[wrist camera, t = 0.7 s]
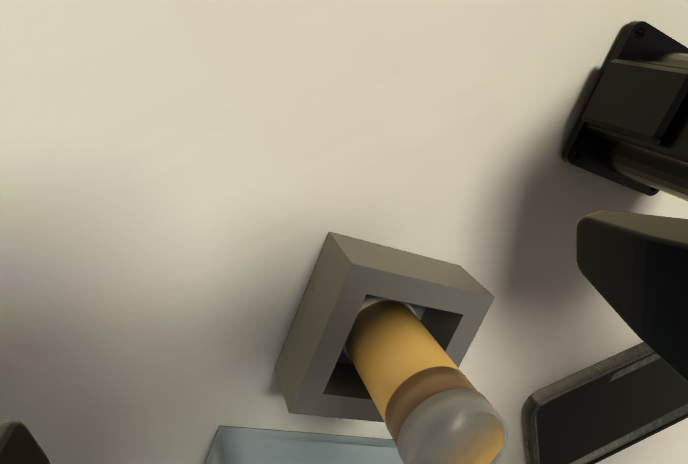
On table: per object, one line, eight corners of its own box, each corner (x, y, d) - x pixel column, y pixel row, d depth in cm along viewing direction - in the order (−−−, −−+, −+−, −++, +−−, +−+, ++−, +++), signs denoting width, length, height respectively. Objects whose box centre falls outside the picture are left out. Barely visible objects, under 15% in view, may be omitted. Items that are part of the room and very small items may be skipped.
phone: (725, 398, 36) (536, 493, 34) (710, 388, 37) (526, 478, 35) (740, 308, 33) (529, 405, 30) (722, 298, 34) (517, 392, 31)
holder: (459, 265, 25) (494, 297, 23) (401, 384, 27) (428, 426, 25) (329, 231, 23) (352, 263, 20) (274, 368, 24) (289, 412, 22)
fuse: (420, 294, 25) (525, 413, 18) (390, 359, 26) (478, 494, 19) (353, 279, 23) (438, 402, 16) (323, 348, 24) (392, 492, 17)
